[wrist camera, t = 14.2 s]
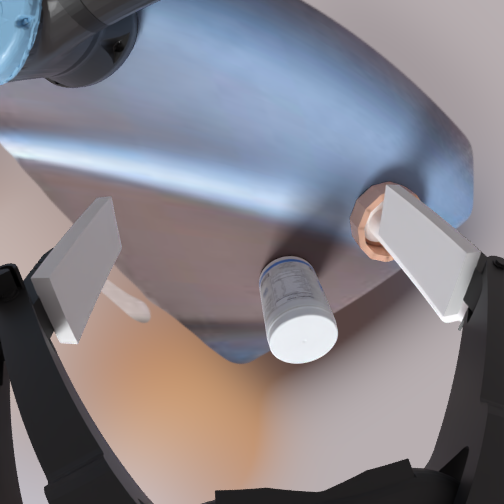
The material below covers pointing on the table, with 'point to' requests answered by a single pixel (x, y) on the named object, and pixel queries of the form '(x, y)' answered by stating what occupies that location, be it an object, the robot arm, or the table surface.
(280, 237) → the table surface
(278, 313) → the supplement tub
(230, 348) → the table surface
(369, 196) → the jar dish
